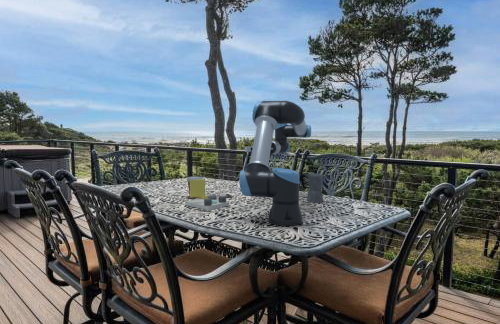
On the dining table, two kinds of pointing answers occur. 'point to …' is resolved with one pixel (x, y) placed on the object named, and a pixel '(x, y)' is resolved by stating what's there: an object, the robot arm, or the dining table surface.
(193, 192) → the yellow flat slab
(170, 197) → the dining table surface
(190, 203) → the base
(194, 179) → the disposable coffee cup
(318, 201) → the coffeepot
